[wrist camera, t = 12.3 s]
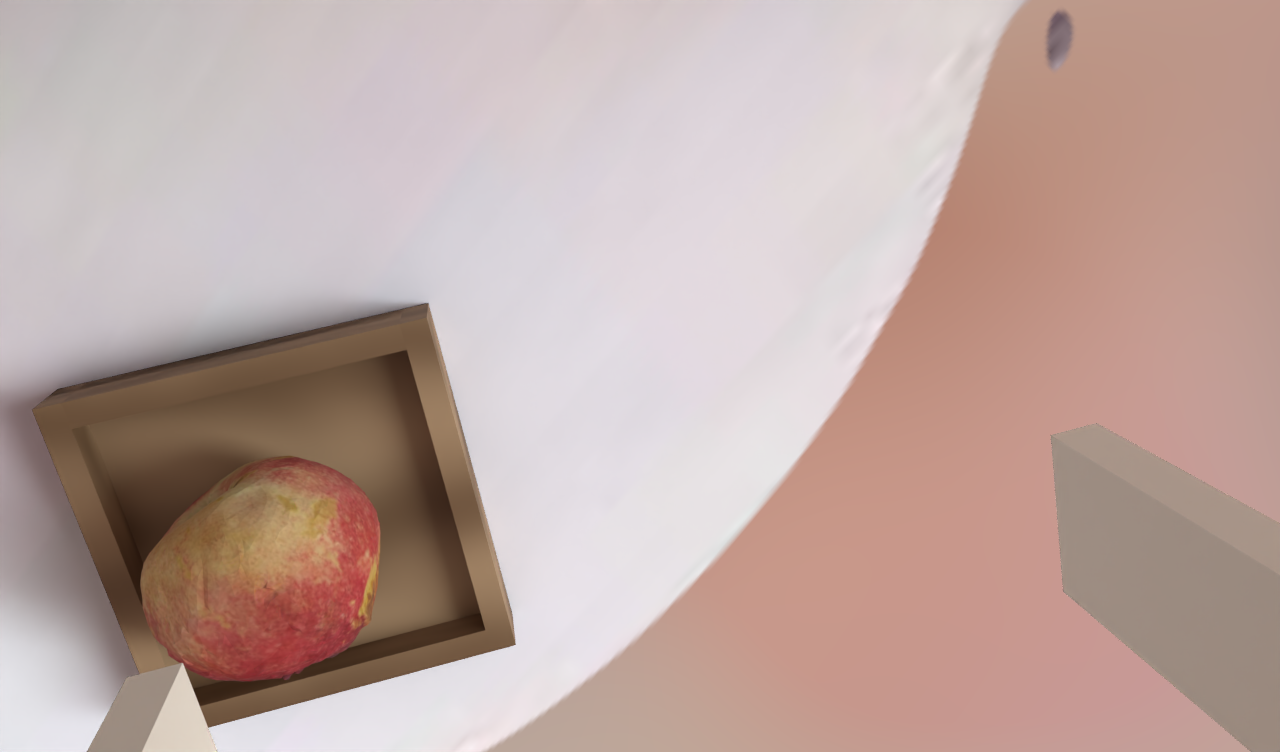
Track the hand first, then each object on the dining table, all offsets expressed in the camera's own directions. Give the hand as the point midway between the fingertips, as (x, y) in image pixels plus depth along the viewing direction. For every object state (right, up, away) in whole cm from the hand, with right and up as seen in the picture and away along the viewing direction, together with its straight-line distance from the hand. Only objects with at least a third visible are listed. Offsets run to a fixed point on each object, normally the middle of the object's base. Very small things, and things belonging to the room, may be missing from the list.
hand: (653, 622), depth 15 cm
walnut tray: (-14, -2, +26) cm, 30 cm away
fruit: (-14, -2, +25) cm, 29 cm away
